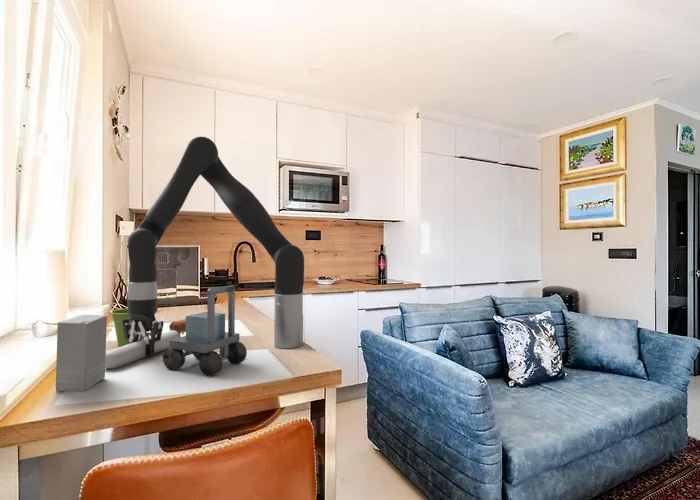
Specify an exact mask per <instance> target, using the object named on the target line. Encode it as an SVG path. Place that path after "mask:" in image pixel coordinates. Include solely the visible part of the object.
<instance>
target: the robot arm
mask: <svg viewBox="0 0 700 500" xmlns="http://www.w3.org/2000/svg"><path fill="white" fill-rule="evenodd" d="M218 150H219V149H218V147H217V146H216V144H215V143H214V141H213V140H211V139H210V138H209V137H206V136H196V137H194V138H192V139H191V140H190V141H189V142H188V143H187V145H186V148H185V151H184V152H183V154H182V156H181V158H180V161H179V163H178V165H177V166H176V169H175V170H174V172H173V173H172V175H171V177H170V178H169V179H168V181H167V183H166V184H165V185H164V187H163V189H161V191H160V192H159V195H158V196H157V197H156V199H155V200H154V201H153V202H152V204H151V206H150V207H149V209H148V210H147V211H146V213H145V218H144V219H143V220H142V222H141V223H140V224H139V225H138V227H137V229H134V230H133V231H132V232H131V233H130V234H129V236H128V240H127V252H128V261H129V268H128V286H127V308H128V314H129V315H131V316H130V318H127V319H123V320H122V324H123V330H124V336H125V339H129V341H130V342H131V343H134V342H137V341H138V340H139V339H140V335H141V334H142V336H143V337H144V339H145V342H146V352H145V356H146V357H145V358H151V357H153V356H154V355H155V354H154V344H155V342H157V341H160V340H161V335H162V333H163V329H164V328H163V327H164V324H165V323H164V321H163V320H161V321H160V320H159V321H158V320H157V319H156V317H155V316H156V315H155V314H156V313H157V312H158V283H157V278H158V277H157V271H158V270H157V265H156V248H157V245H159V242H160V241H161V240H162V237H163V235H164V234H165V232H166V230H167V228H168V227H169V226H170V225H171V224H172V222H173V221H174V220H175V218H176V216H177V215H178V213H179V212H180V210H181V209H182V208H183V205H184V204H185V202H186V200H187V198H188V197H189V196H188V195H189V193H190V191H191V190H192V188H193V185H194V184H195V182H196V181H197V179H199V177H202V178H203V179H204V180H205V181H206V182H207V183H208V184H209V185H210V186H211V187H212V188H213V189H214V190H215V192H216V193H217V195H218V196H219V198H220V199H221V202H223V204H224V205H225V207H226V208H227V209H228V210H229V211H230V213H231V214H232V215H233V216H234V218H235V219H236V220H237V221H238V222H239V223H240V224H241V225H242V226H243V228H245V230H246V231H247V232H249V234H250V235H251V236H253V237H254V239H256V240H257V241H258V242H259V243H260V244H261V245H262V246H263V248H264V249H265V251H266V252H267V253H268V254H269V256H270V258H271V259H272V260H273V262H274V264H275V265H274V266H275V270H274V272H275V274H274V275H275V276H274V277H275V279H274V333H273V334H274V335H273V336H274V338H273V339H274V340H273V341H274V342H273V344H274V347H275V348H279V349H296V348H299V347H301V346H303V343H304V314H303V312H304V311H303V309H304V308H303V307H304V303H303V301H304V299H303V298H304V284H305V255H304V253H303V250H302V249H301V248H300V247H299V246H296V245H294V244H292V243H291V242H290V241H289V240H288V238H286V237H285V236H284V235H283V234H282V232H281V231H280V230H279V229H278V227H277V225H276V224H275V223H274V221H273V219H272V217H271V216H270V214H269V212H268V211H267V209H266V208H265V207H264V205H263V204H262V203H261V201H260V200H259V199H258V198H257V196H255V194H254V193H253V192H252V191H251V190H250V189H249V188H248V187H247V186H246V185H244V184H243V183H242V182H240V180H238V179H236V178H235V176H233V175H232V173H231V172H230V171H229V170H228V168H227V167H226V166H225V164H224V163H223V161H222V160H221V158H220V156H219V151H218ZM128 330H130V335H129V333H128ZM135 335H136V336H135ZM156 335H157V337H156ZM150 337H151V339H149V338H150Z"/></svg>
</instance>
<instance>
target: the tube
mask: <svg viewBox="0 0 700 500" xmlns="http://www.w3.org/2000/svg"><path fill="white" fill-rule="evenodd" d="M180 336H181V333H180V334H179V333H178V332H177V331H175V330H170V329H169V330H168V331H165V332H162V335H161V340H160V341H157V342H155V344H154V355H156V354H157V353H160V352H164V351H165V350H166V349H167V348H169V341H170V340H173V339H176V338H180ZM156 337H157V335H156ZM149 339H151V337H150V336H149ZM145 352H146V342H145V338H144V339H143V340H140V341H137V342H134V343H131V344H128V345H124V346H118V347H115V348H111V349H109V350H106V357H105V369H111V370H115V369H118V368H121V367H124V366H126V365H128V364H131V363H134V362H136V361H139V360H142V359H144V358H147V357H146V356H145Z"/></svg>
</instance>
